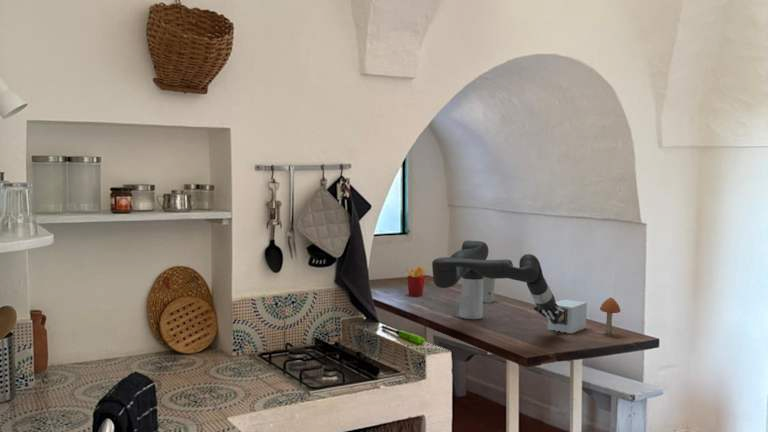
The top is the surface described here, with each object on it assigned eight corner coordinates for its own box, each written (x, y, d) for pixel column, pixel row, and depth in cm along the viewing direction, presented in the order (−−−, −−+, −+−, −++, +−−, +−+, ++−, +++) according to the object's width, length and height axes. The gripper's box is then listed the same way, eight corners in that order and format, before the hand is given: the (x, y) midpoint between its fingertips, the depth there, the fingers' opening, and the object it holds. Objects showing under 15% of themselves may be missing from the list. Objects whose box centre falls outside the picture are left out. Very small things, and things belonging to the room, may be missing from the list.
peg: (559, 323, 301) (559, 313, 301) (550, 321, 303) (550, 311, 303) (572, 318, 310) (573, 308, 310) (563, 316, 313) (564, 307, 312)
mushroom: (616, 337, 297) (618, 299, 296) (596, 335, 301) (597, 297, 300) (621, 334, 304) (623, 296, 303) (601, 331, 308) (603, 294, 307)
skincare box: (473, 301, 365) (474, 269, 363) (477, 299, 371) (478, 267, 370) (491, 303, 361) (492, 270, 360) (494, 301, 368) (495, 268, 367)
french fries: (406, 295, 377) (406, 265, 375) (414, 293, 383) (415, 264, 382) (421, 298, 372) (422, 267, 371) (430, 295, 379) (430, 265, 377)
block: (570, 333, 302) (571, 307, 301) (547, 329, 309) (548, 304, 308) (585, 327, 314) (586, 302, 313) (563, 324, 320) (564, 299, 319)
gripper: (523, 300, 293) (537, 327, 304) (554, 305, 285) (567, 332, 295) (530, 285, 297) (543, 312, 307) (561, 290, 289) (574, 317, 299)
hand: (555, 322), depth 301 cm, fingers closed
